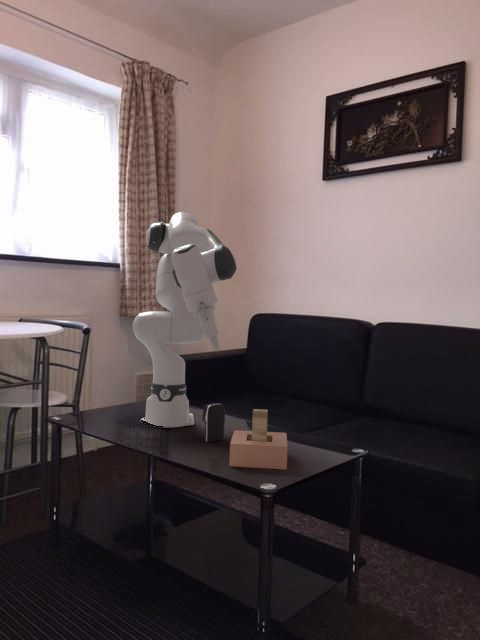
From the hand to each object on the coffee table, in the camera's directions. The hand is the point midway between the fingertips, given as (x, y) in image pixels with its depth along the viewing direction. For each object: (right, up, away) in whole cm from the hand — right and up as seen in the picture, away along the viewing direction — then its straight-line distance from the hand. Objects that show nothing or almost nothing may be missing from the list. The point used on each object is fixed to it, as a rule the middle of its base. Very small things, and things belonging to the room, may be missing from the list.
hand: (216, 346), depth 154 cm
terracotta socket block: (+12, -31, -6) cm, 34 cm away
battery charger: (-2, -30, +13) cm, 33 cm away
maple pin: (+12, -29, -6) cm, 32 cm away
